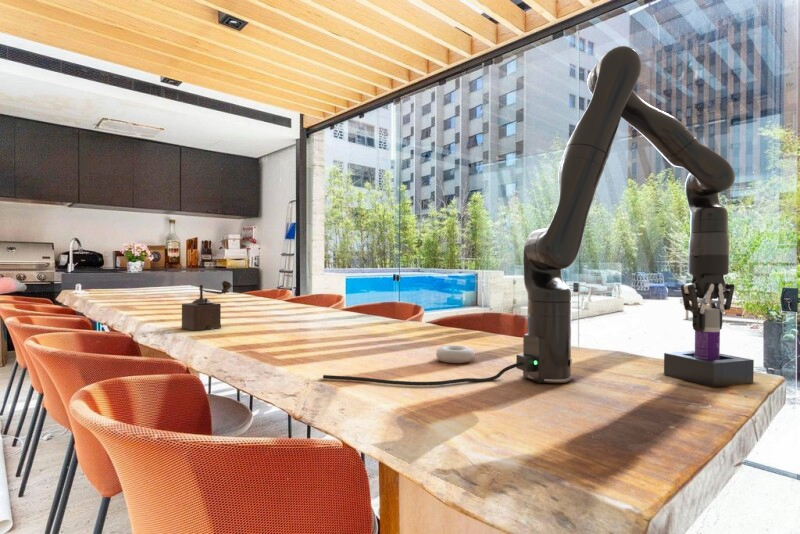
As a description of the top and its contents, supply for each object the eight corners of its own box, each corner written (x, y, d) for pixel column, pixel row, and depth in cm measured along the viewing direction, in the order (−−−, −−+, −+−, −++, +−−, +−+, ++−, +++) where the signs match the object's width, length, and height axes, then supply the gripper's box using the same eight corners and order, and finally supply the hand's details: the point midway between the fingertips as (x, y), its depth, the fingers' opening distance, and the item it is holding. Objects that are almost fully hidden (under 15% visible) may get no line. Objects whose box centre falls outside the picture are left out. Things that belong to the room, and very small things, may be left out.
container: (723, 378, 104) (724, 309, 104) (699, 377, 105) (700, 309, 105) (713, 373, 108) (714, 307, 108) (690, 372, 109) (691, 307, 109)
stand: (713, 387, 99) (713, 363, 99) (663, 374, 110) (663, 352, 110) (753, 382, 103) (753, 359, 103) (701, 370, 114) (701, 349, 114)
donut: (464, 367, 117) (480, 359, 126) (464, 353, 117) (480, 346, 126) (429, 362, 123) (446, 355, 131) (428, 348, 123) (446, 342, 131)
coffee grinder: (196, 331, 173) (196, 281, 173) (180, 328, 179) (180, 280, 179) (234, 326, 185) (234, 280, 185) (218, 324, 192) (218, 279, 192)
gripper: (715, 253, 112) (714, 326, 112) (669, 253, 107) (668, 329, 108) (748, 253, 105) (746, 330, 105) (700, 252, 100) (699, 333, 101)
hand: (707, 329), depth 106 cm, fingers closed on container, 4 cm apart
